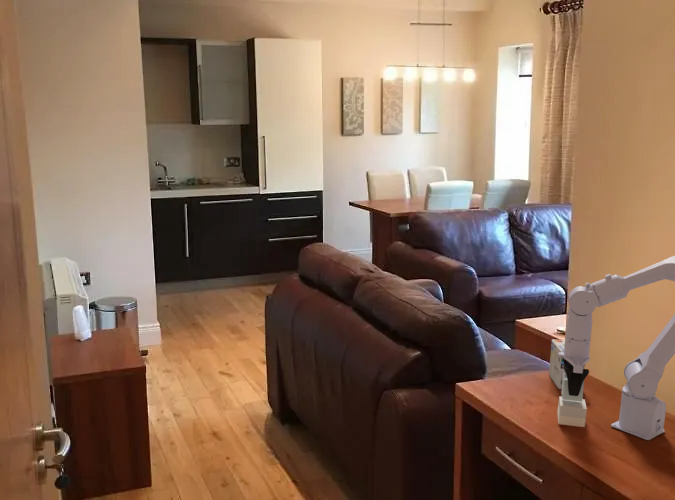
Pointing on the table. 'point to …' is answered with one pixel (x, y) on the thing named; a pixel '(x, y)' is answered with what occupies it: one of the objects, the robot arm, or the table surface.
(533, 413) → the table surface
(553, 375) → the light bulb box
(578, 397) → the pale blue block
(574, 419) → the cream slab
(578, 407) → the beige block
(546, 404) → the table surface
